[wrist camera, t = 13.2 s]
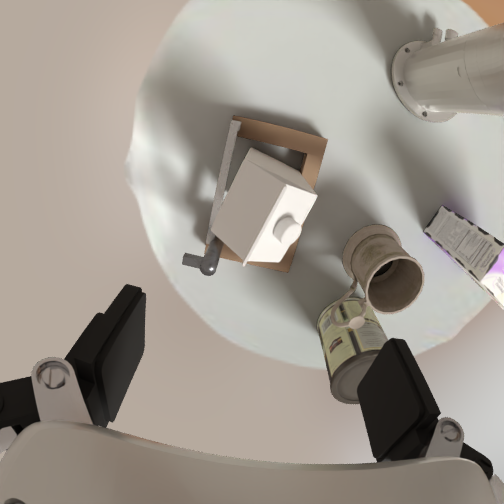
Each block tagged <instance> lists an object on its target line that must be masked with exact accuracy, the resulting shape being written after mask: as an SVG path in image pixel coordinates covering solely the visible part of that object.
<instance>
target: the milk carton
mask: <svg viewBox="0 0 504 504" xmlns="http://www.w3.org/2000/svg"><path fill="white" fill-rule="evenodd" d="M317 196H318V195H317V194H316V193H315V192H314V190H313V189H312V188H311V186H310V185H309V184H308V182H307V181H306V180H305V179H304V177H303V176H302V175H301V173H300V172H299V171H298V170H296V169H294V168H292V167H290V166H288V165H286V164H285V163H283V162H281V161H279V160H277V159H275V158H273V157H271V156H269V155H267V154H264V153H262V152H260V151H258V150H256V149H254V148H252V147H251V148H250V149H249V151H248V153H247V155H246V157H245V159H244V161H243V162H242V164H241V166H240V168H239V170H238V172H237V174H236V176H235V179H234V181H233V183H232V185H231V187H230V189H229V191H228V193H227V195H226V197H225V199H224V201H223V204H222V206H221V208H220V210H219V212H218V214H217V216H216V218H215V221H214V223H213V225H212V228H211V231H212V232H213V233H214V234H215V235H216V236H217V237H218V238H219V239H220V240H222V241H223V242H224V243H225V244H226V245H227V246H228V247H229V248H230V249H231V250H232V251H234V252H235V253H236V254H237V255H238V256H239V257H240V258H241V259H242V260H243V263H242V266H245V265H246V263H247V261H256V262H280V261H281V259H282V258H283V256H284V255H285V253H286V251H287V250H288V248H289V246H290V244H292V243H294V242H295V241H296V240H297V239H298V237H299V235H300V233H301V230H302V228H301V225H302V224H303V222H304V220H305V218H306V217H307V215H308V213H309V211H310V210H311V208H312V206H313V204H314V202H315V200H316V198H317Z"/></svg>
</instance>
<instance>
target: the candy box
mask: <svg viewBox="0 0 504 504" xmlns="http://www.w3.org/2000/svg"><path fill="white" fill-rule="evenodd" d="M424 233H425V234H426V235H427V236H428V237H429V238H430V239H431V240H432V241H433V242H434V243H435V244H436V245H437V246H438V247H440V248H441V249H442V250H443V251H444V252H445V253H446V254H447V255H448V256H449V257H450V258H451V259H452V260H453V261H454V262H455V263H456V264H457V265H458V266H459V267H460V268H461V269H462V270H463V271H464V272H465V273H466V274H467V275H468V276H470V277H471V278H472V279H473V280H474V281H475V282H476V283H477V284H478V285H479V286H480V287H481V288H482V289H483V290H484V291H485V292H486V293H487V294H488V295H489V296H490V297H491V298H492V299H493V300H494V301H495V302H496V303H497V304H498V305H499V306H500V307H501V308H502V309H503V310H504V243H502V242H501V241H499V240H498V239H496V238H495V237H493V236H492V235H490V234H489V233H487V232H486V231H484V230H483V229H481V228H480V227H478V226H476V225H475V224H473V223H472V222H470V221H468V220H467V219H465V218H463V217H462V216H460V215H459V214H457V213H455V212H453V211H452V210H450V209H448V208H447V207H445V206H443V205H442V206H441V208H440V209H439V210H438V212H437V213H436V214H435V216H434V217H433V219H432V220H431V222H430V223H429V224H428V225H427V227H426V228H425V230H424Z"/></svg>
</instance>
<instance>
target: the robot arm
mask: <svg viewBox="0 0 504 504" xmlns="http://www.w3.org/2000/svg"><path fill="white" fill-rule="evenodd" d="M432 36H433V38H432V40H430V41H429V42H426V41H413V42H410V43H407V44H405V45H404V46H402V47H401V48H400V49H399V50H398V51H397V53H396V54H395V56H394V59H393V62H392V71H391V75H392V81H393V85H394V88H395V91H396V93H397V95H398V97H399V99H400V100H401V102H402V103H403V105H404V106H405V107H406V108H407V109H408V110H409V111H410V112H411V113H412V114H414V115H415V116H416V117H418V118H420V119H422V120H425V121H428V122H444V121H448V120H449V119H451V118H453V117H454V116H455V115H456V114H457V113H472V114H486V115H498V116H504V23H501V24H498V25H495V26H492V27H489V28H485V29H482V30H478V31H475V32H472V33H469V34H466V35H463V36H459V37H458V33H457V32H456V31H454V30H451V29H447V30H446V35H445V41H444V42H441V38H442V30H440V29H438V28H434V29H433V35H432ZM440 42H441V43H440ZM405 51H406V52H405ZM398 83H399V85H398ZM422 113H423V115H422ZM145 308H146V294H145V293H143V292H142V289H141V288H140V287H136V286H132V285H128V284H126V285H125V286H124V287H123V289H122V290H121V291H120V293H119V294H118V296H117V297H116V298H115V299H114V301H113V302H112V304H111V305H110V306H109V308H108V309H107V310H106V312H105V313H104V314H103V313H97V314H96V315H95V316H94V318H93V319H92V321H91V322H90V323H89V325H88V326H87V328H86V329H85V330H84V332H83V333H82V334H81V336H80V337H79V339H78V340H77V341H76V343H75V344H74V346H73V347H72V349H71V350H70V352H69V353H68V354H67V356H66V357H65V359H62V358H56V357H48V358H45V359H42V360H41V361H39V362H37V364H36V365H35V366H34V367H33V370H32V376H30V377H26V378H21V379H17V380H12V381H7V382H3V383H0V453H2V452H3V451H5V450H7V451H6V453H5V455H4V456H3V458H2V460H1V462H0V504H504V483H503V482H502V481H501V480H500V479H499V478H498V476H497V475H493V466H492V463H491V461H490V460H489V459H488V458H486V457H485V456H484V455H482V454H481V453H479V452H478V451H476V450H475V449H473V448H471V447H470V446H468V445H467V444H465V443H464V442H463V440H464V432H463V429H462V427H461V426H460V424H459V423H458V422H456V421H455V420H454V419H451V418H448V417H447V418H446V417H445V418H441V419H440V420H438V418H437V417H438V416H439V415H440V414H441V412H440V410H439V408H438V406H437V404H436V401H435V399H434V397H433V395H432V393H431V391H430V388H429V387H428V384H427V382H426V380H425V378H424V376H423V374H422V372H421V370H420V368H419V366H418V364H417V362H416V360H415V358H414V356H413V355H412V353H411V351H410V349H409V347H408V345H407V343H406V341H405V340H403V339H396V338H391V339H389V341H386V342H385V343H384V345H383V347H382V348H381V350H380V352H379V353H378V355H377V357H376V358H375V360H374V361H373V363H372V365H371V366H370V368H369V369H368V371H367V373H366V374H365V376H364V377H363V379H362V380H361V382H360V383H359V385H358V387H357V395H358V399H359V402H360V406H361V410H362V413H363V417H364V421H365V425H366V429H367V433H368V437H369V441H370V445H371V449H372V453H373V456H374V458H376V460H377V463H362V464H294V463H278V462H267V461H257V460H249V459H240V458H233V457H227V456H220V455H214V454H209V453H203V452H199V451H194V450H188V449H184V448H180V447H175V446H171V445H167V444H162V443H159V442H155V441H151V440H147V439H144V438H140V437H137V436H133V435H129V434H126V433H122V432H119V431H115V430H112V429H108V428H106V427H107V425H108V422H109V421H110V422H113V421H114V420H115V418H116V415H117V413H118V411H119V408H120V406H121V403H122V401H123V399H124V396H125V394H126V392H127V389H128V387H129V385H130V382H131V380H132V378H133V376H134V373H135V371H136V369H137V366H138V364H139V362H140V360H141V358H142V355H143V352H144V346H145ZM98 425H99V426H98ZM100 426H101V427H100ZM492 475H493V476H492Z"/></svg>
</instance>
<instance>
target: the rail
mask: <svg viewBox="0 0 504 504" xmlns="http://www.w3.org/2000/svg"><path fill="white" fill-rule="evenodd" d="M241 123H242V122H240V121H235V120H231V123H230V128H229V132H228V136H227V141H226V145H225V150H224V154H223V159H222V163H221V168H220V173H219V177H218V182H217V187H216V192H215V197H214V202H213V207H212V212H211V217H210V222H209V227H208V233H207V238H206V244H209V243H210V242H211V241H212V240H214V239H215V234H214V233H213V232H212V231H211V228H212V225H213V223H214V221H215V218H216V216H217V214H218V212H219V210H220V208H221V206H222V201H223V196H224V192H225V187H226V183H227V178H228V173H229V169H230V164H231V160H232V155H233V151H234V147H235V142H236V138H237V134H238V131H240V127H241Z"/></svg>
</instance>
